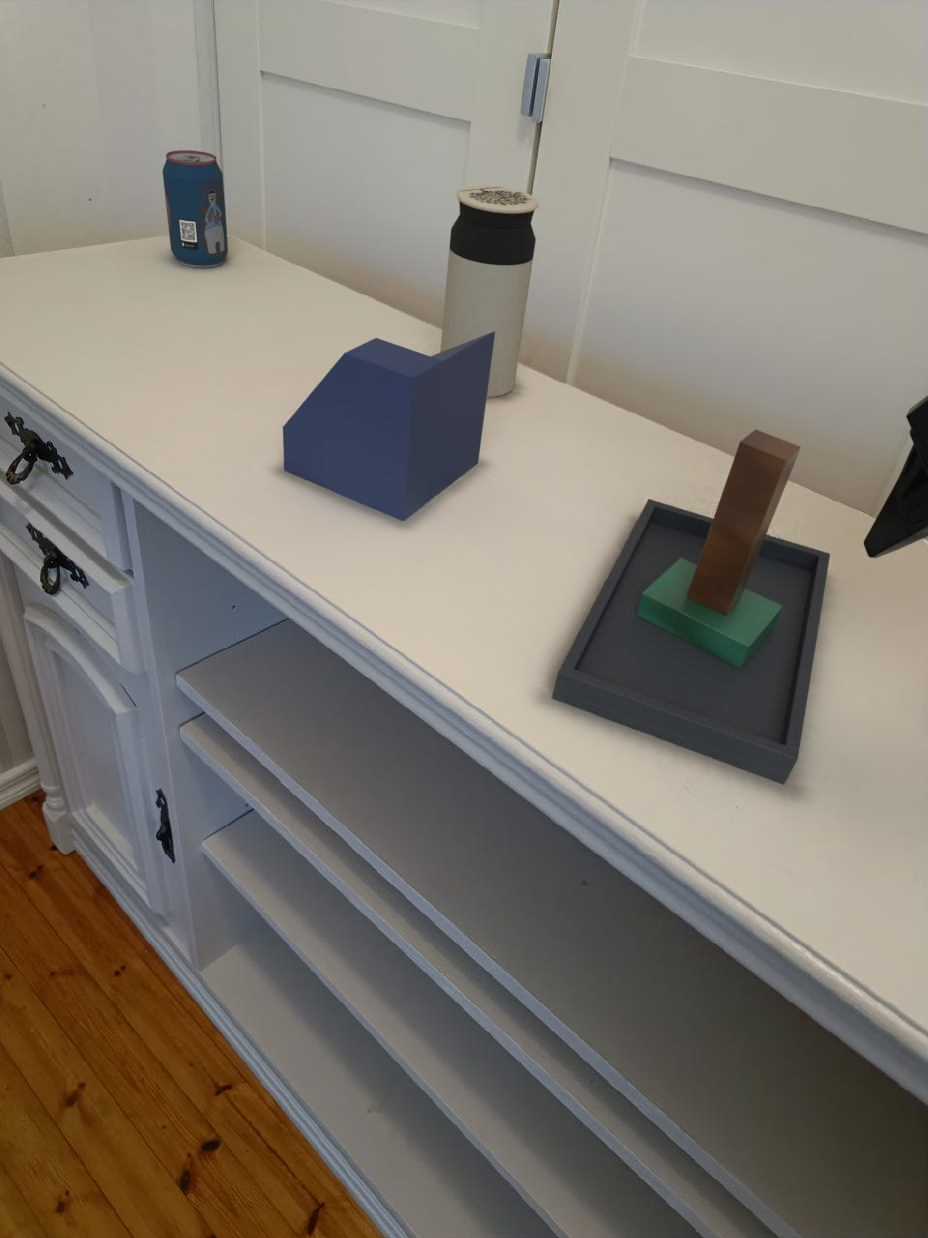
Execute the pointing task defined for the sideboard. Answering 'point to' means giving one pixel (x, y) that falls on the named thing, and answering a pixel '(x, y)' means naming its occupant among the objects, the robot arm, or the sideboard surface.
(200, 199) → the soda can
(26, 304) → the sideboard surface
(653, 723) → the tray
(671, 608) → the brown post on base
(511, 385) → the travel mug
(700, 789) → the sideboard surface
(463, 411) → the phone stand
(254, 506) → the sideboard surface
